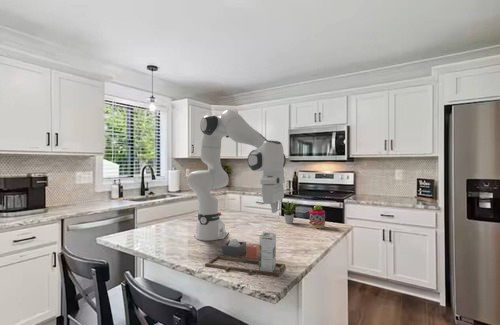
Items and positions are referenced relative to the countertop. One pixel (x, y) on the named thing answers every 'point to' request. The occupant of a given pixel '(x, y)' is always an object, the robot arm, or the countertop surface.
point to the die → (252, 250)
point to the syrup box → (267, 252)
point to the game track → (243, 268)
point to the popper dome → (234, 243)
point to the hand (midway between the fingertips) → (274, 212)
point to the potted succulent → (317, 217)
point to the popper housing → (234, 249)
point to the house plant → (289, 212)
